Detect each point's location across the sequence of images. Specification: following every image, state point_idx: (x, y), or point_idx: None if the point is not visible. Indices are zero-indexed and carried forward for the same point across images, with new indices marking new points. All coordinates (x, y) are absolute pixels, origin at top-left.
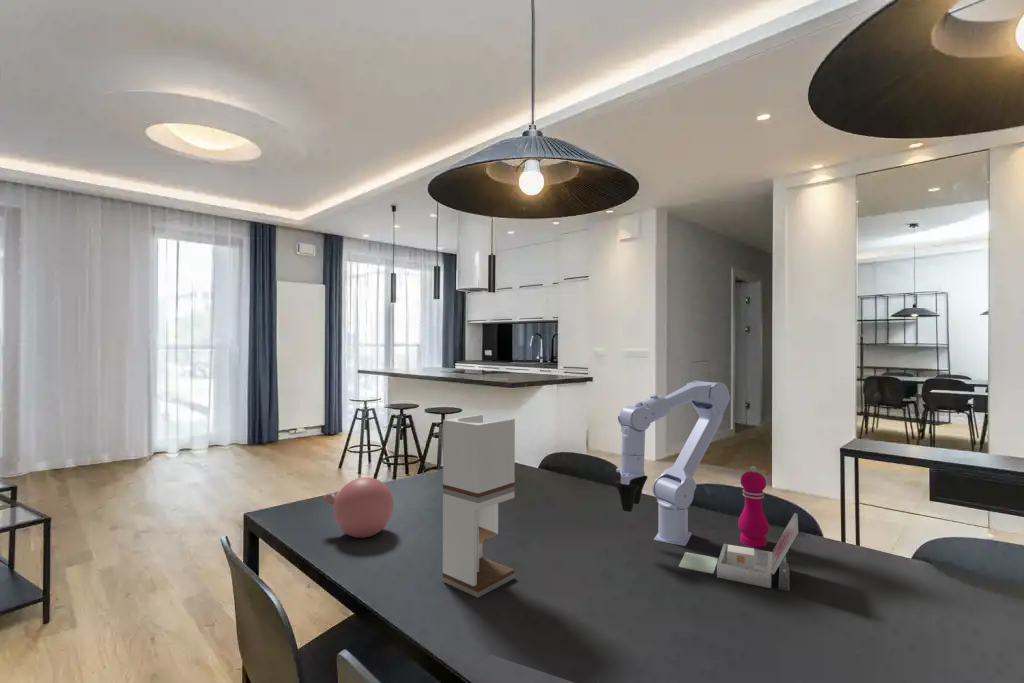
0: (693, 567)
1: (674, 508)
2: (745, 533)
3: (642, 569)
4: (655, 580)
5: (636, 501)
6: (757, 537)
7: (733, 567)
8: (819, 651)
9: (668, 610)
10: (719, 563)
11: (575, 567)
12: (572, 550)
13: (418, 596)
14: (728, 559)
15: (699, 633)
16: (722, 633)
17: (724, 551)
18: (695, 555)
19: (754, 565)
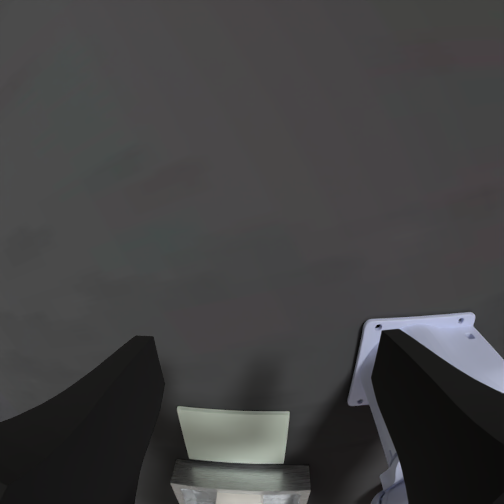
0: (190, 433)
1: (384, 476)
2: None
3: (104, 329)
4: (74, 362)
5: (378, 380)
6: None
7: (176, 496)
8: None
9: (10, 380)
10: (175, 485)
11: (12, 150)
12: (109, 66)
13: None
14: (217, 495)
15: (3, 409)
16: None
17: (255, 494)
18: (275, 433)
19: (278, 496)
